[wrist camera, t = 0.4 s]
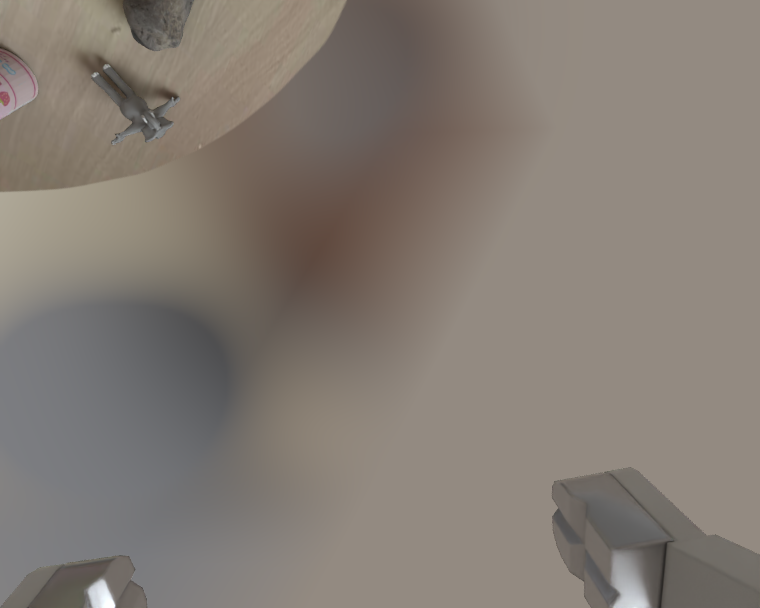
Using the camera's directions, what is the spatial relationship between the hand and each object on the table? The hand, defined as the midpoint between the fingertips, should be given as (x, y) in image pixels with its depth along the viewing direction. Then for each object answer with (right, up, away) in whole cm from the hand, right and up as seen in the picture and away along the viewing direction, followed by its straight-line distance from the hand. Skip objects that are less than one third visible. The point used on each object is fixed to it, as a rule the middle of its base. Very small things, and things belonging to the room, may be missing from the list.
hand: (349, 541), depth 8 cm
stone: (-22, +38, +35) cm, 57 cm away
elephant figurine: (-30, +30, +42) cm, 59 cm away
